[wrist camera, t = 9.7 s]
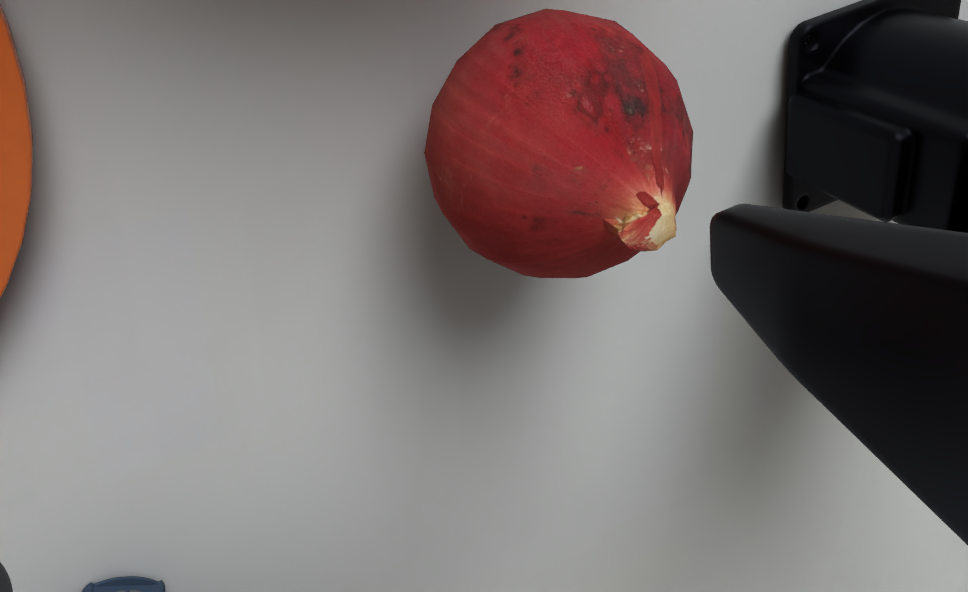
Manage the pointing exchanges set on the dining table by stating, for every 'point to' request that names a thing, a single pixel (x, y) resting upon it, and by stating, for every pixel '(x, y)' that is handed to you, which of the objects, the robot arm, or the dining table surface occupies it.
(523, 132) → the onion
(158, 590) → the vaping device
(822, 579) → the dining table surface
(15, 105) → the lid
